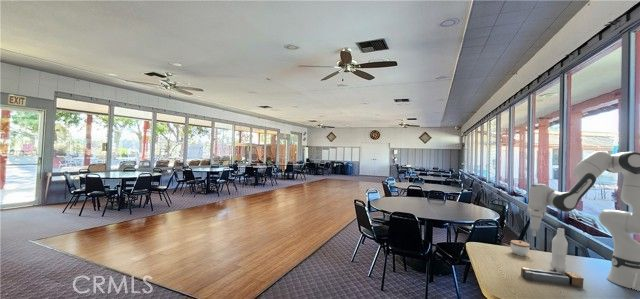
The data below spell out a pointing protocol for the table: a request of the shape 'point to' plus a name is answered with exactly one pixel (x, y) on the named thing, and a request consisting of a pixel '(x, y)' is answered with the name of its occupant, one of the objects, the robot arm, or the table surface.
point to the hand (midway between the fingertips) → (534, 234)
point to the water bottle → (559, 251)
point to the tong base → (556, 278)
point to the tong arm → (541, 272)
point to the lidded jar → (520, 247)
